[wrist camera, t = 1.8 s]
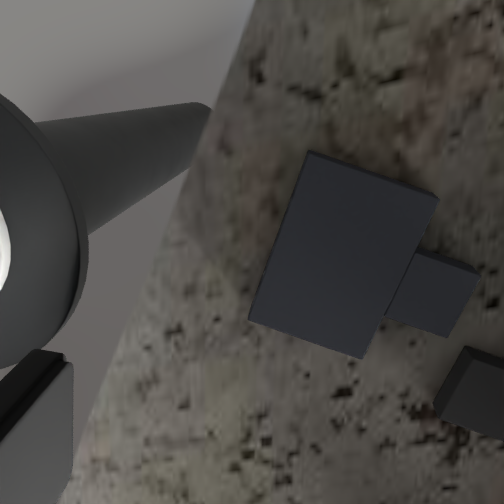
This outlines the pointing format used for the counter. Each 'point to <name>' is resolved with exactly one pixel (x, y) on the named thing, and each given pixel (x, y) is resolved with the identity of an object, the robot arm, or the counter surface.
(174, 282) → the counter surface
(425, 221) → the charcoal pad
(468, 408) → the black notched block
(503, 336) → the counter surface
